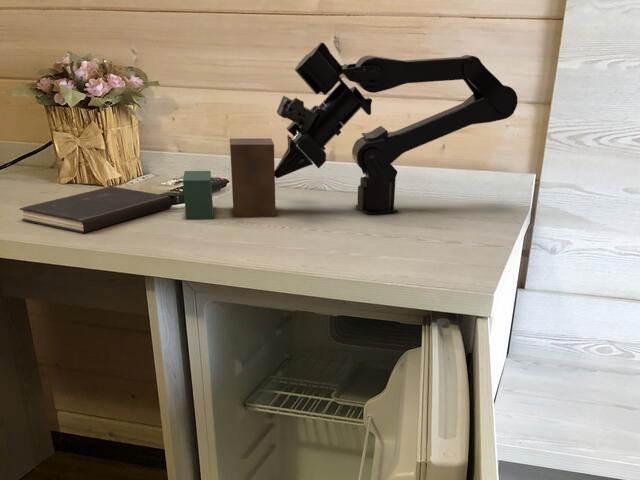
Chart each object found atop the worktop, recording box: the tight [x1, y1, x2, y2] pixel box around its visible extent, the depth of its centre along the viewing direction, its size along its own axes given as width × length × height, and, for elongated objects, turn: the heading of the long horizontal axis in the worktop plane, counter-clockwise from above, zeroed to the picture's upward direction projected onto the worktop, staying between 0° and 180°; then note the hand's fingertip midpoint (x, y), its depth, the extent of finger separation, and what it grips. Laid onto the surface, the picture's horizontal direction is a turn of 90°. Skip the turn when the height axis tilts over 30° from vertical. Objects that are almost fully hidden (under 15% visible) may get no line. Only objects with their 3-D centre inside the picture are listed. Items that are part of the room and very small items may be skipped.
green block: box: [182, 170, 214, 220], centre depth 141 cm, size 5×9×7 cm, turn 8°
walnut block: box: [229, 137, 277, 218], centre depth 141 cm, size 8×7×13 cm
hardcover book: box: [19, 185, 173, 234], centre depth 140 cm, size 16×23×2 cm
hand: (275, 176), depth 141 cm, fingers closed
